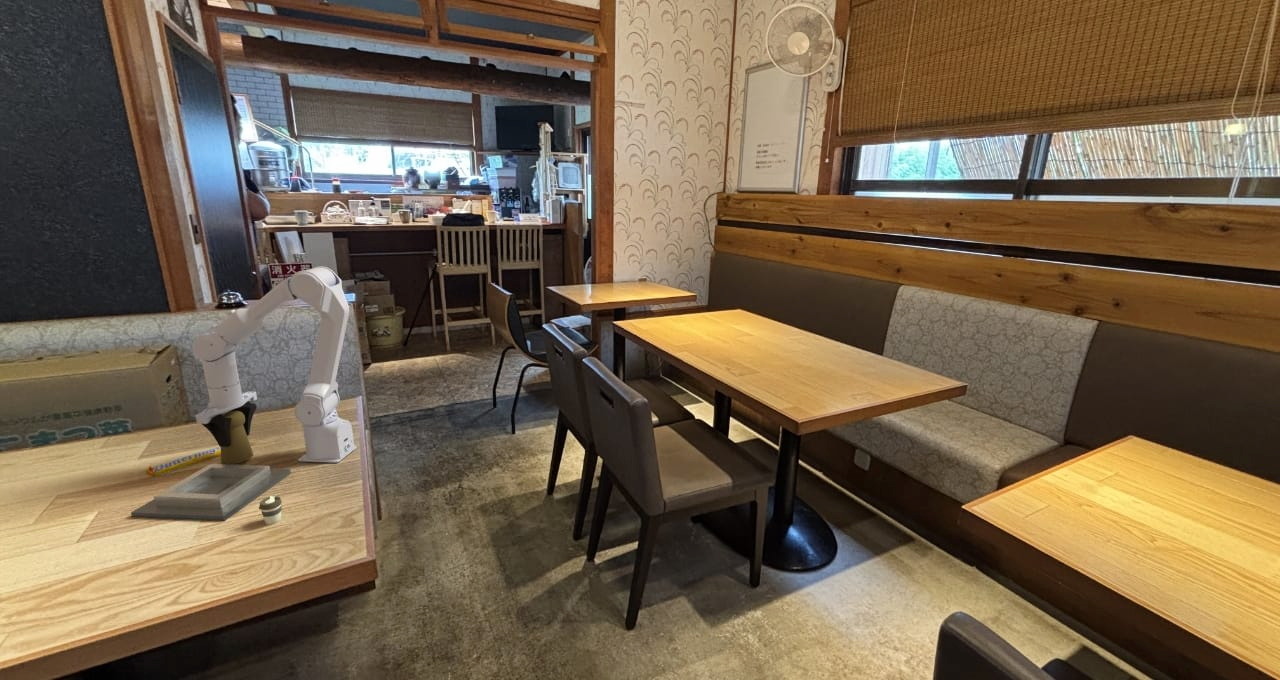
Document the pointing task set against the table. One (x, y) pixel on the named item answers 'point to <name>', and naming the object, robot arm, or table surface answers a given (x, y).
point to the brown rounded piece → (236, 440)
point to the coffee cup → (271, 509)
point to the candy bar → (185, 461)
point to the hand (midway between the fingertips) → (234, 440)
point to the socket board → (212, 493)
